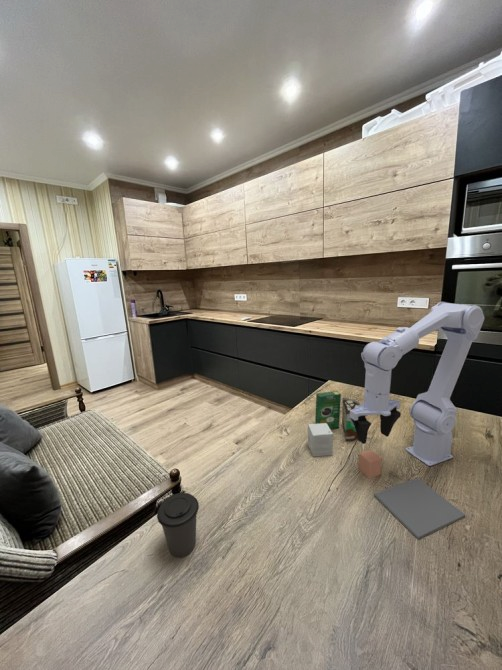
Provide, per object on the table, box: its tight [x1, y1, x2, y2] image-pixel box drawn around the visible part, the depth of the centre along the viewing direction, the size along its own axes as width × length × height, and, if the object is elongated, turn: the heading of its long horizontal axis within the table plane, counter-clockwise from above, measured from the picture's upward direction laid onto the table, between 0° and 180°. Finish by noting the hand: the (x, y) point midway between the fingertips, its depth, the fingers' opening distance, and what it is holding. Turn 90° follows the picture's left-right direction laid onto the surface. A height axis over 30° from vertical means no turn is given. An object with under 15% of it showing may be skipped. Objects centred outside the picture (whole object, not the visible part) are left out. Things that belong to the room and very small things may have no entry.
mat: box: [373, 477, 466, 540], centre depth 64 cm, size 14×12×1 cm
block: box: [357, 449, 383, 480], centre depth 75 cm, size 4×4×5 cm
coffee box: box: [314, 390, 342, 430], centre depth 95 cm, size 8×3×13 cm, turn 103°
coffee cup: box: [156, 492, 200, 559], centre depth 56 cm, size 8×8×10 cm
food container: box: [341, 397, 362, 442], centre depth 92 cm, size 12×6×10 cm, turn 168°
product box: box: [307, 423, 334, 457], centre depth 84 cm, size 6×6×7 cm
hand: (373, 437), depth 73 cm, fingers open, 7 cm apart
